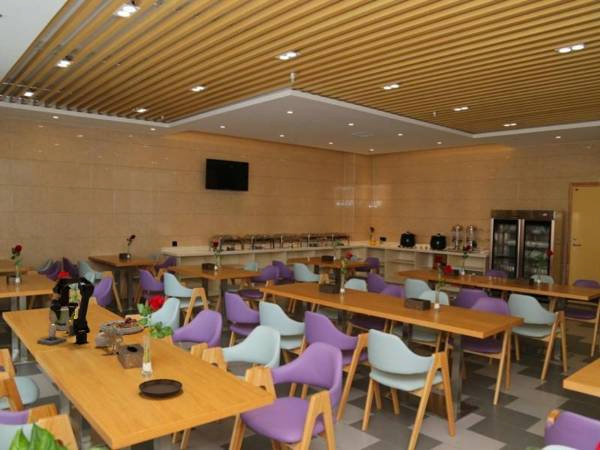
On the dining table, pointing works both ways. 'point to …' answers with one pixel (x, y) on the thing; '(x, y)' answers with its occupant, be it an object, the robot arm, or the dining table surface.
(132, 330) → the bowl
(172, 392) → the plant saucer
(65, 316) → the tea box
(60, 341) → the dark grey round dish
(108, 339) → the flower vase
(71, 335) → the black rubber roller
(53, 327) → the steel roller
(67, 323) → the brass bushing
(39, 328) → the dining table surface
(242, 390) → the dining table surface
